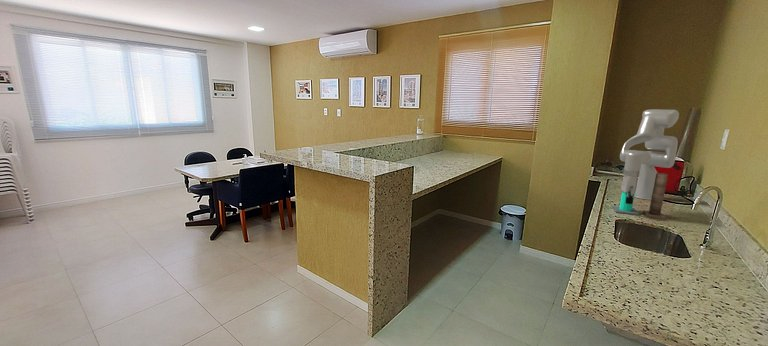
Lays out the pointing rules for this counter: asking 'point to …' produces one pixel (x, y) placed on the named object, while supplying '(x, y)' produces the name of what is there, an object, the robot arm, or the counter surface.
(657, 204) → the post
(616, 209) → the mat
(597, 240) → the counter surface
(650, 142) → the robot arm
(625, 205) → the candle
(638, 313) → the counter surface
